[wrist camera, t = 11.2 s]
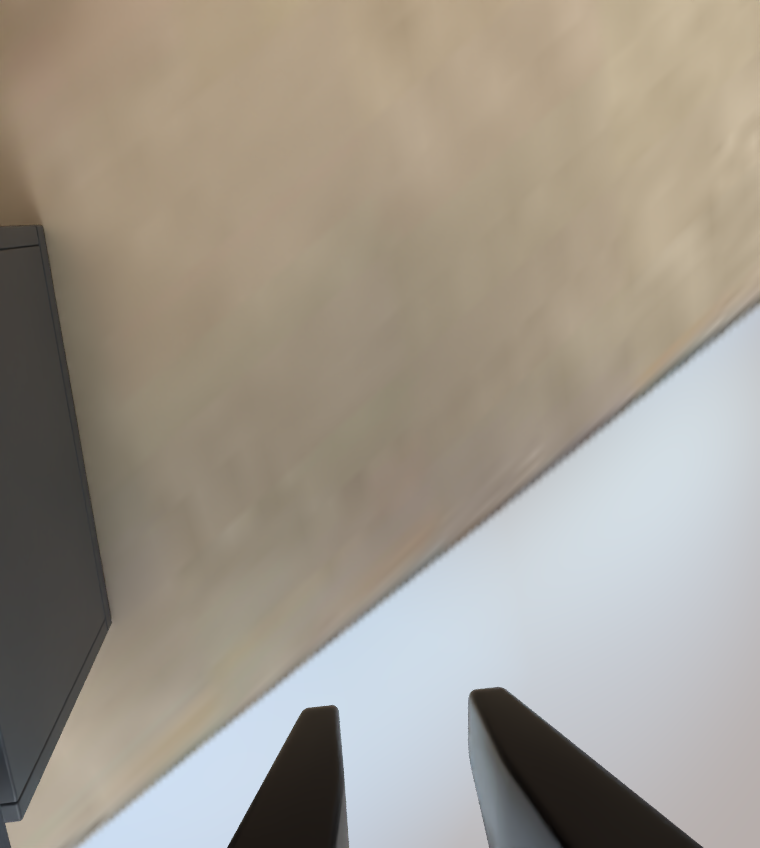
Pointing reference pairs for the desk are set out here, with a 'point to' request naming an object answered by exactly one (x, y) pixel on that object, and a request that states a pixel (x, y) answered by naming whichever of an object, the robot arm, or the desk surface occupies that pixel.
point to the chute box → (40, 527)
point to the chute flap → (3, 833)
